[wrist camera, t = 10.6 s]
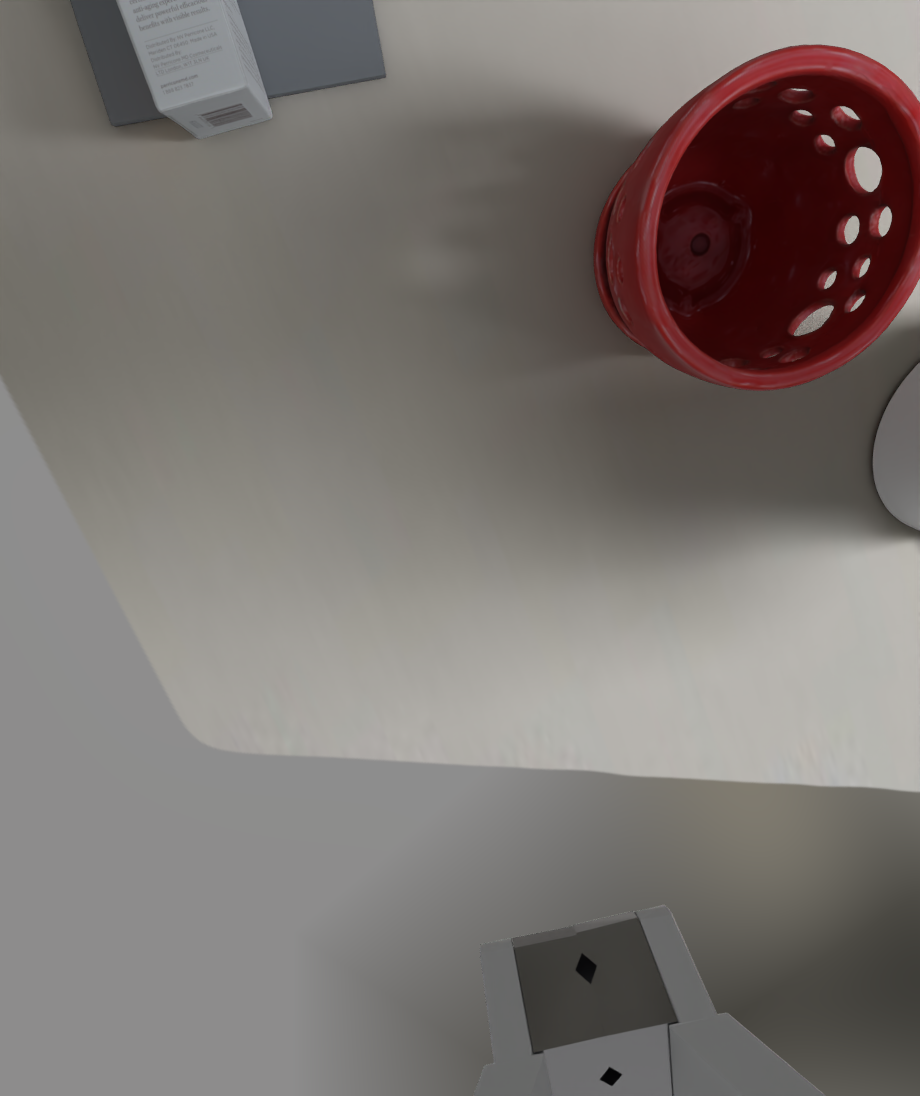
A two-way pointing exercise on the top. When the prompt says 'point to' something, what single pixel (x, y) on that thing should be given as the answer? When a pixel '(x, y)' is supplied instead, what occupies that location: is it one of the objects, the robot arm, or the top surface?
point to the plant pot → (766, 221)
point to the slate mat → (276, 39)
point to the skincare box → (197, 63)
